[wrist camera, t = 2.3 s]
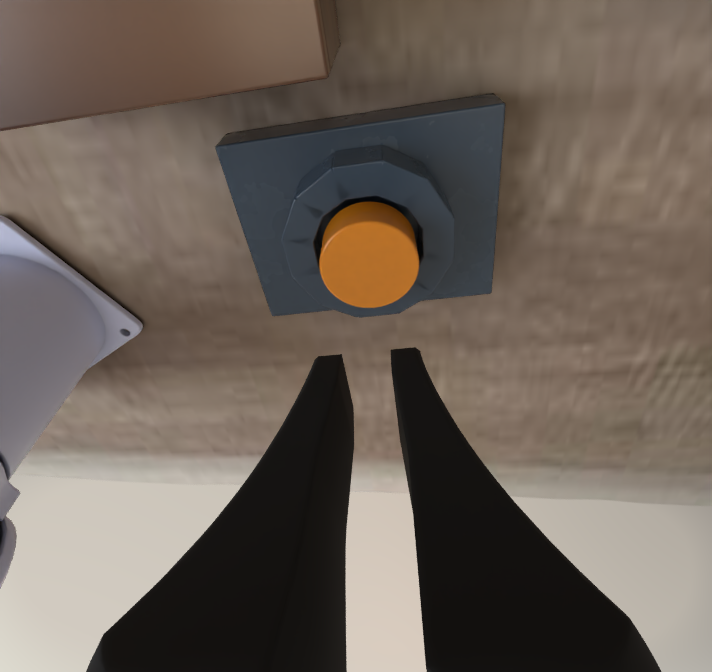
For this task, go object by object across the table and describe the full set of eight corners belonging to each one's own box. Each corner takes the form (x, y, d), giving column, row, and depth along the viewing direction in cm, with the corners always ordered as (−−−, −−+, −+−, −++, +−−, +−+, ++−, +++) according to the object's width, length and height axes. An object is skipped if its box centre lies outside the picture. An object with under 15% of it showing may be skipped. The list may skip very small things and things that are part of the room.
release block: (277, 297, 22) (265, 341, 19) (225, 133, 17) (199, 162, 14) (484, 274, 21) (501, 317, 18) (494, 92, 16) (520, 115, 13)
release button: (331, 288, 18) (329, 313, 17) (314, 207, 16) (309, 228, 14) (417, 279, 18) (421, 303, 16) (412, 194, 15) (417, 215, 14)
